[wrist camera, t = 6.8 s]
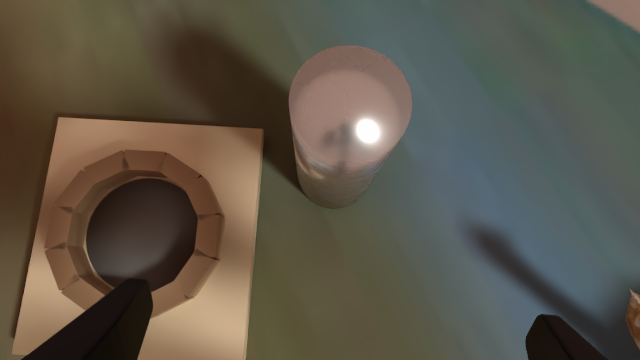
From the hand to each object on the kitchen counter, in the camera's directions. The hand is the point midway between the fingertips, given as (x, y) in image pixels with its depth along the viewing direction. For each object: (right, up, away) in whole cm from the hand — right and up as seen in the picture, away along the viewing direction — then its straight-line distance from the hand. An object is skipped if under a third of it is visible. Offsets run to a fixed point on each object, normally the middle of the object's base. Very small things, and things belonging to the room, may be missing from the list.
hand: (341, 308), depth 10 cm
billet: (0, +3, +14) cm, 14 cm away
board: (-9, 0, +13) cm, 16 cm away
